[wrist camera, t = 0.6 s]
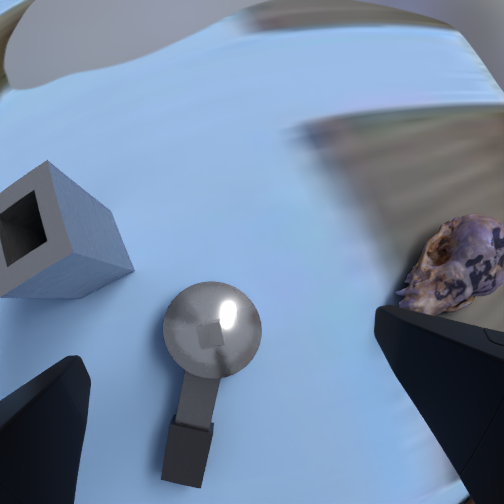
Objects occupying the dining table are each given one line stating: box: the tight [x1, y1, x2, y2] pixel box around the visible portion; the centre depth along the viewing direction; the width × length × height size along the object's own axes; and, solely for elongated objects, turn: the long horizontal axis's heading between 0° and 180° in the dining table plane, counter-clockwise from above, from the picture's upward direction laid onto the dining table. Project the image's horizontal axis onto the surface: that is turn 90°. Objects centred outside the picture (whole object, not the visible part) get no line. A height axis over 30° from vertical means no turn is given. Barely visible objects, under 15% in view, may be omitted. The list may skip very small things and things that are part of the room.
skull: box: [396, 214, 504, 316], centre depth 21 cm, size 12×8×6 cm, turn 113°
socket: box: [0, 160, 135, 299], centre depth 17 cm, size 5×5×10 cm
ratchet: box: [161, 282, 262, 488], centre depth 19 cm, size 16×6×4 cm, turn 168°
